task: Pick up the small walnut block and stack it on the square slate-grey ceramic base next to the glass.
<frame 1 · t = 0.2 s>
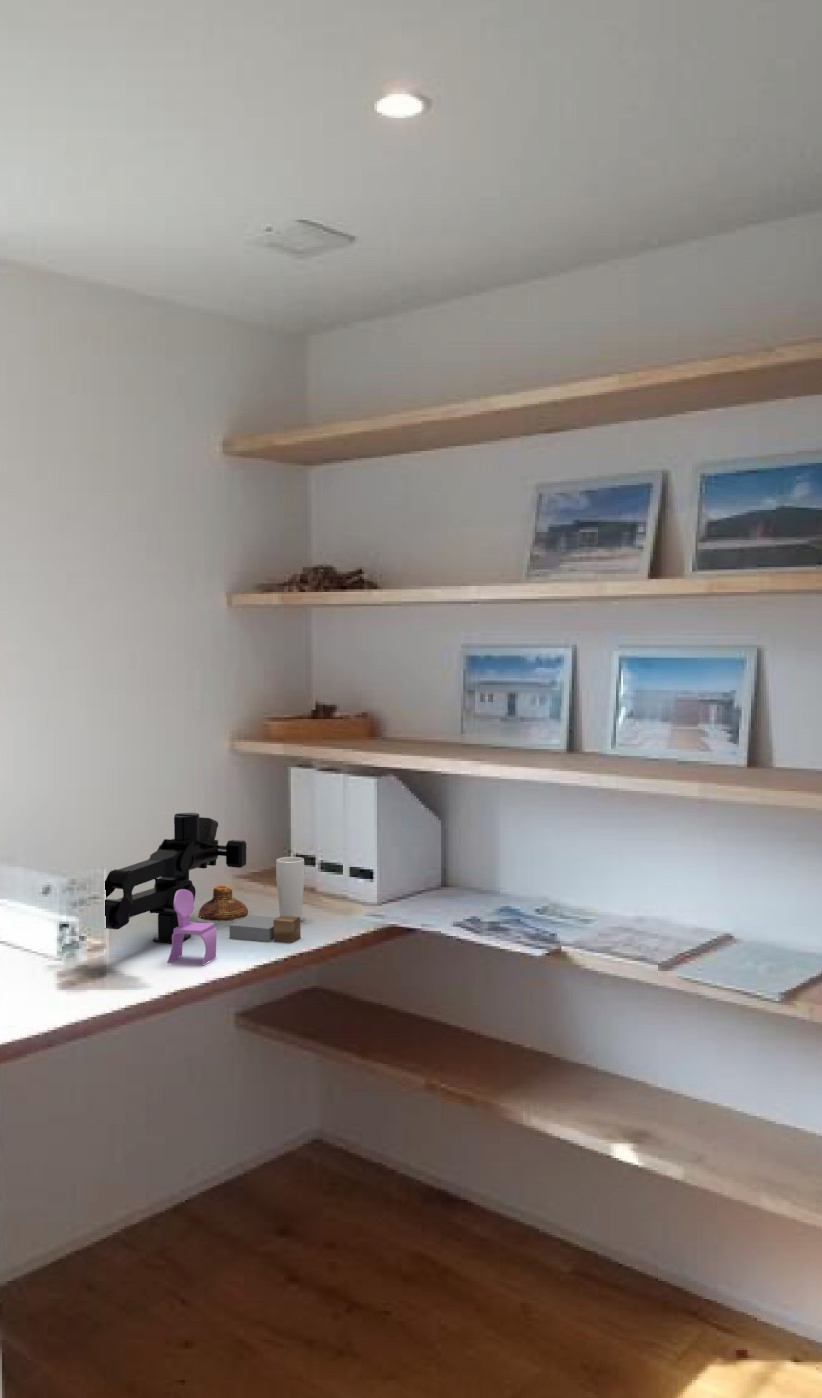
hand: (227, 846, 288), 17 cm above the table, tool horizontal, fingers open, 9 cm apart
toy chair: (192, 961, 249), on the table
bell: (223, 916, 288), on the table
drinking glass: (291, 922, 281), on the table
walnut block: (287, 940, 264), on the table
base: (259, 934, 269), on the table
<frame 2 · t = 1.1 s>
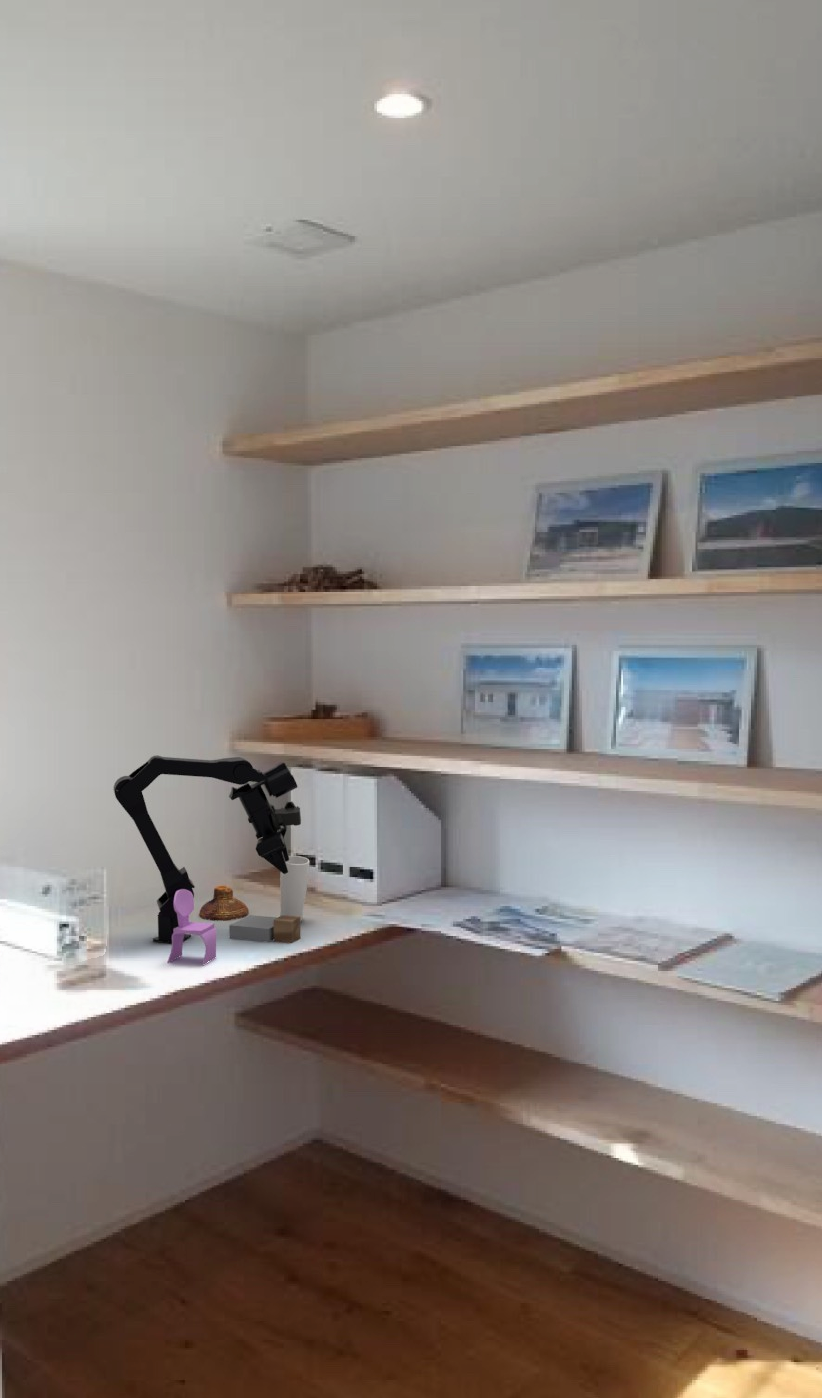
hand: (286, 866, 272), 15 cm above the table, tool tilted 25°, fingers open, 9 cm apart
drinking glass: (291, 920, 281), on the table, touching gripper
everything else where it was.
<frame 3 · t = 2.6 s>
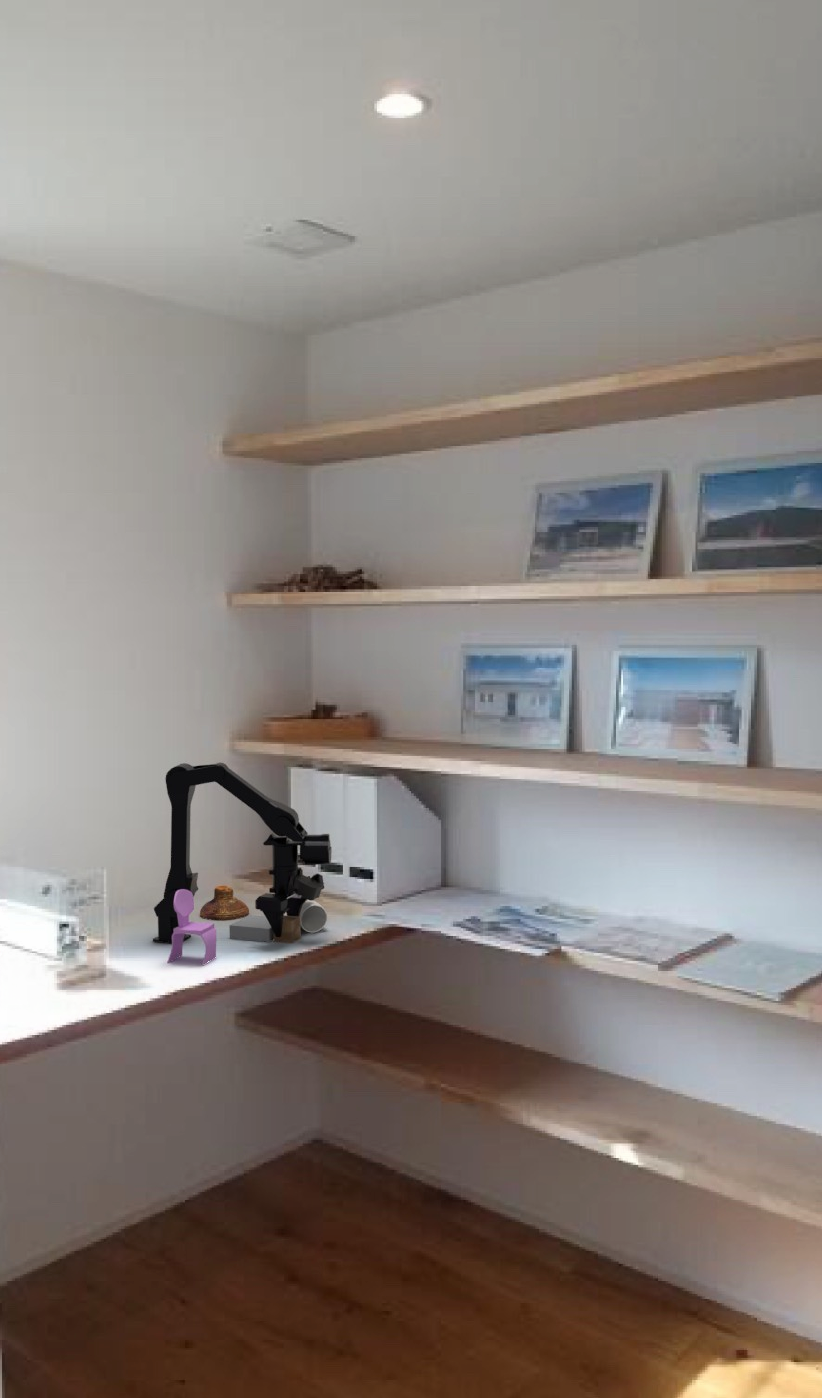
hand: (286, 932, 264), 2 cm above the table, tool pointing down, fingers open, 7 cm apart
drinking glass: (295, 902, 284), point 4 cm above the table, touching gripper
everything else where it was.
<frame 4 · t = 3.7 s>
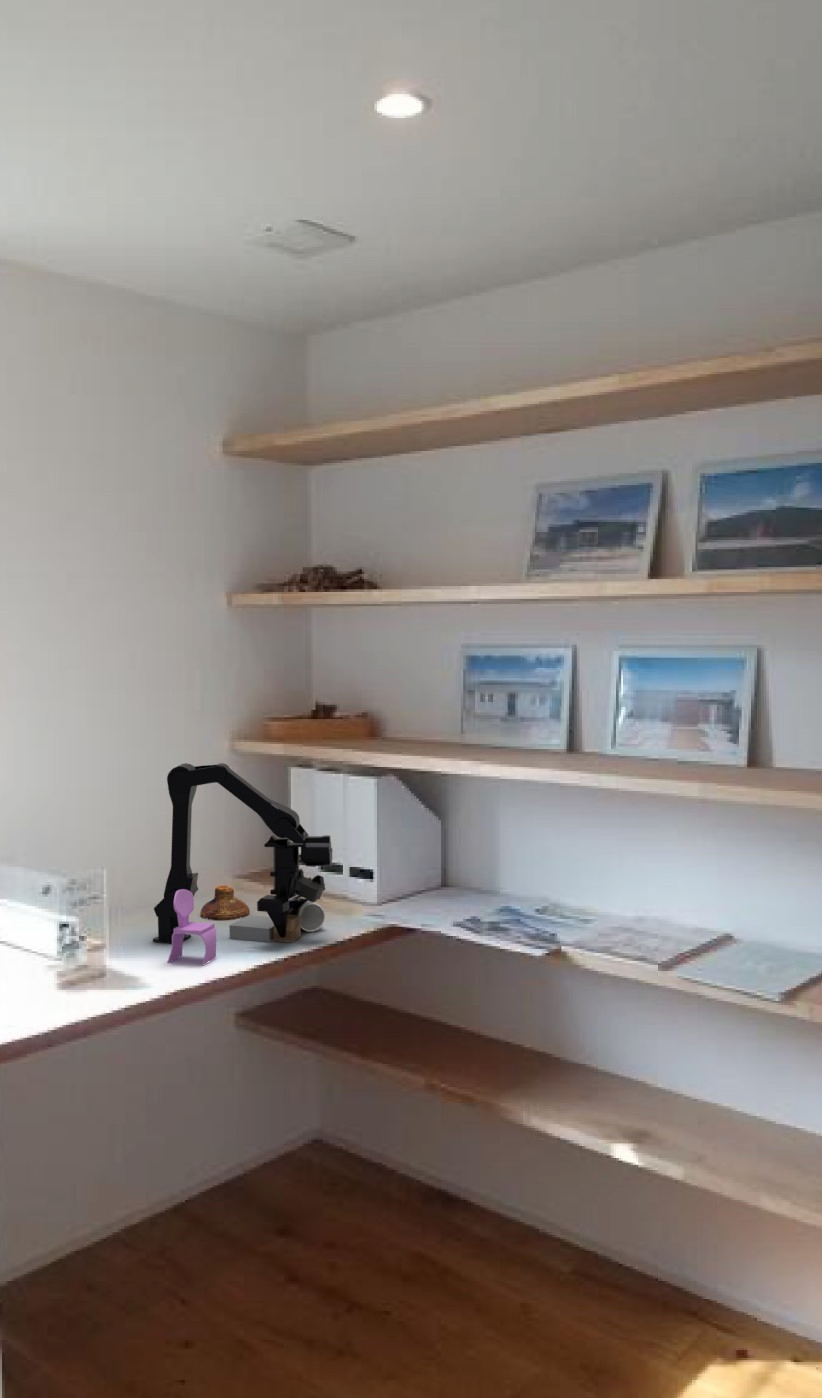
hand: (287, 934, 264), 1 cm above the table, tool pointing down, fingers closed on walnut block, 4 cm apart
drinking glass: (292, 906, 284), point 3 cm above the table
walnut block: (287, 939, 264), on the table, touching gripper
everything else where it was.
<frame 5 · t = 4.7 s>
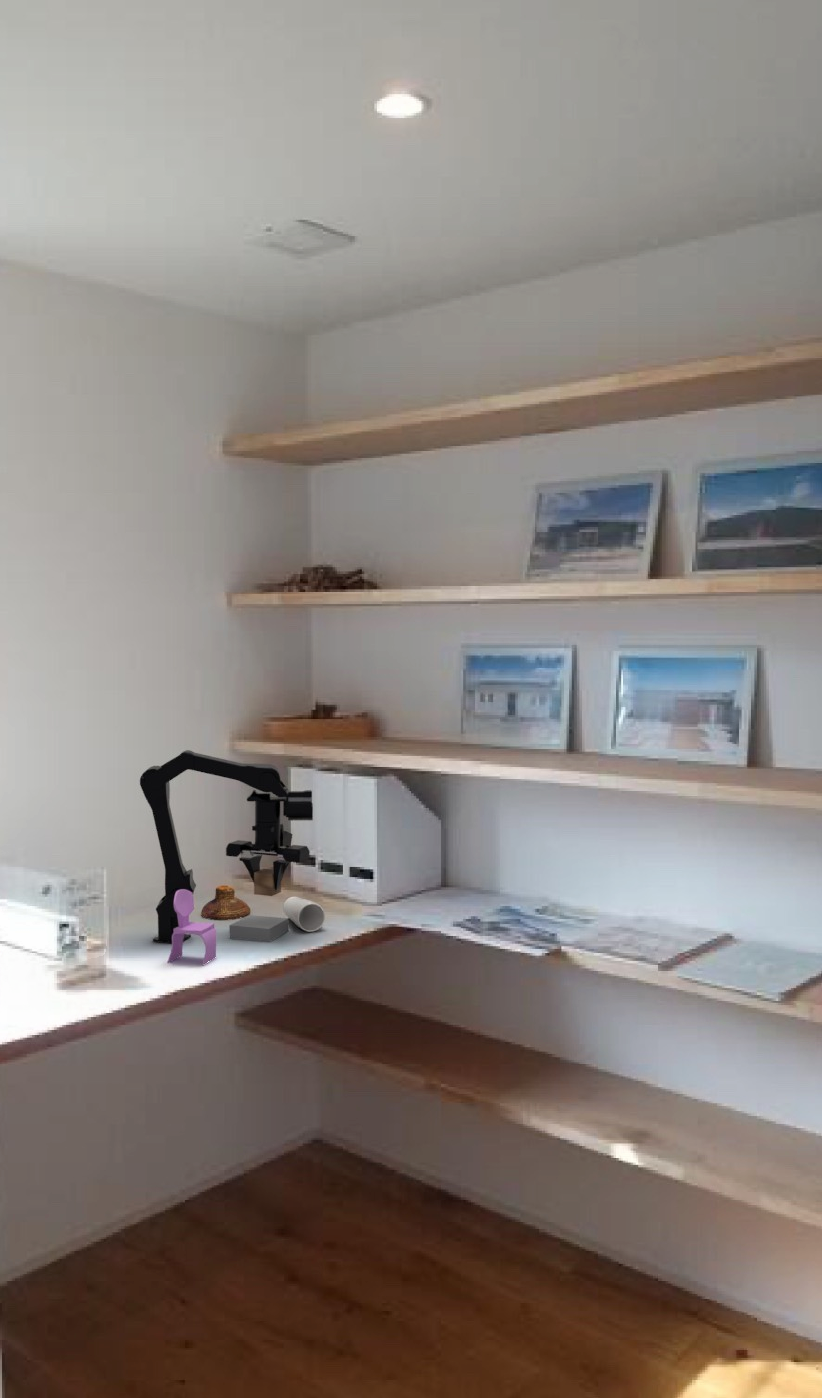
hand: (267, 888, 266), 11 cm above the table, tool pointing down, fingers closed on walnut block, 4 cm apart
walnut block: (267, 893, 266), point 10 cm above the table, touching gripper
everything else where it was.
when the fingers open (5 cm above the table, at t = 6.4 s): walnut block drops 1 cm, resting on base.
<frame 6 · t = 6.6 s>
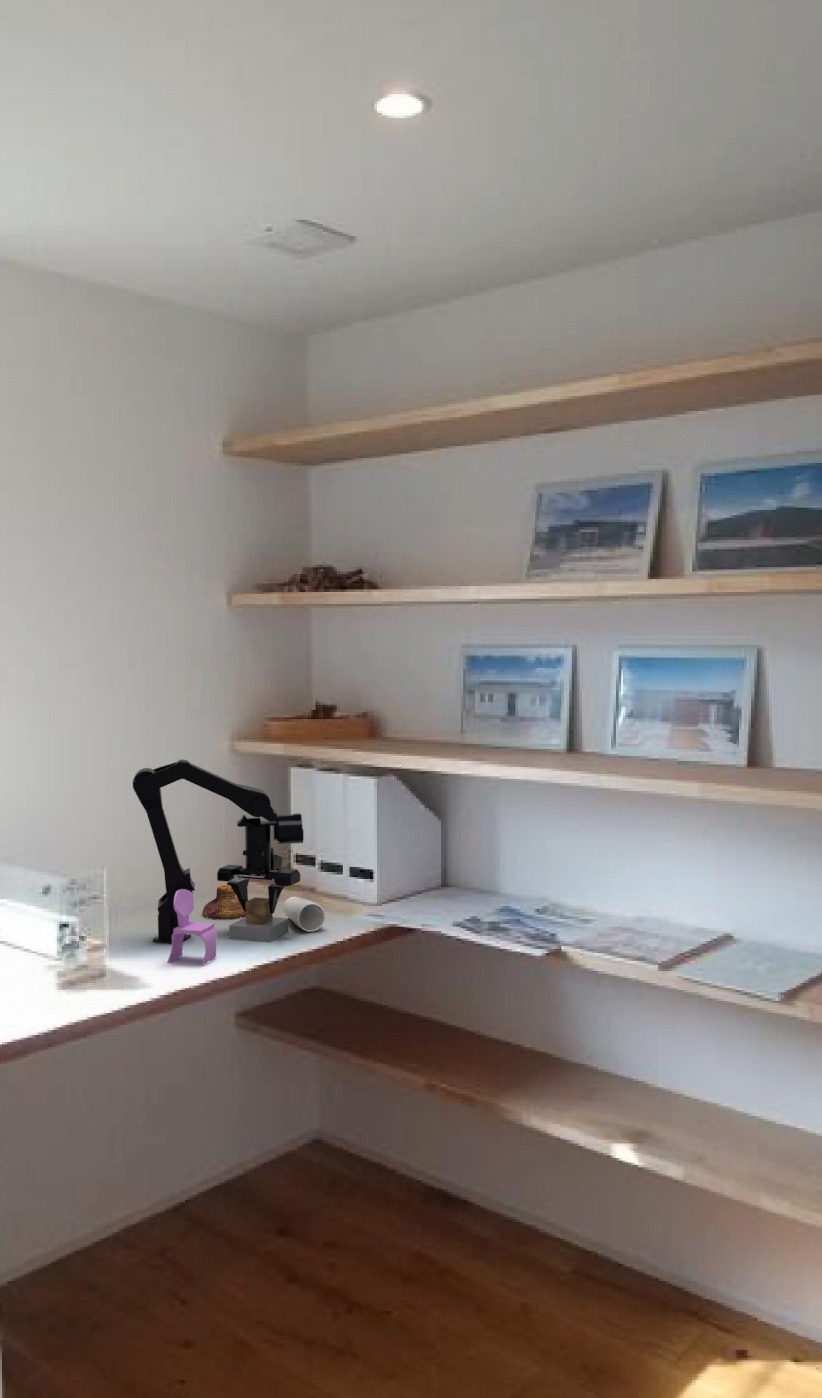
hand: (259, 912, 268), 5 cm above the table, tool pointing down, fingers open, 6 cm apart
walnut block: (259, 921, 269), point 3 cm above the table, touching base
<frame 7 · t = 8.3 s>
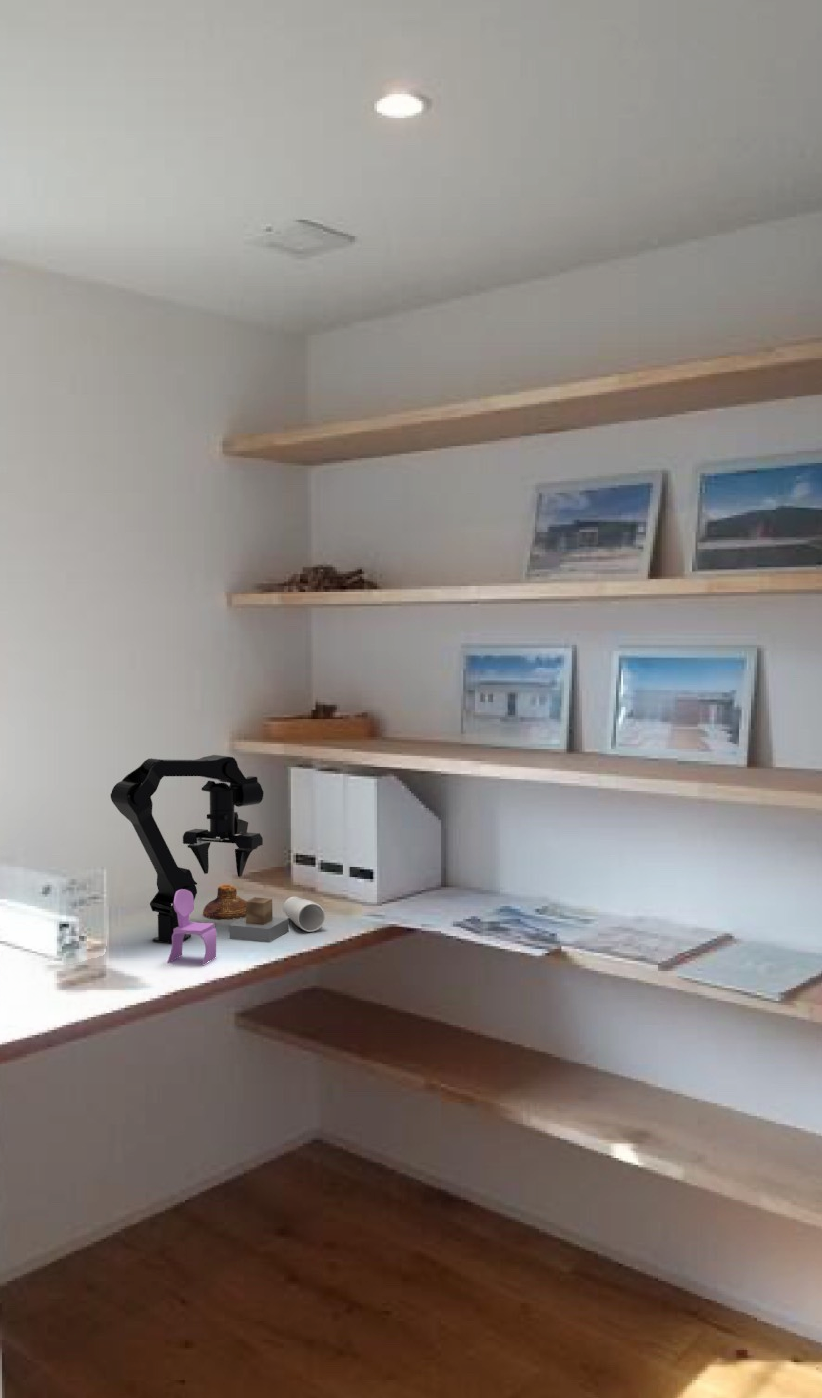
hand: (222, 874, 275), 12 cm above the table, tool pointing down, fingers open, 9 cm apart
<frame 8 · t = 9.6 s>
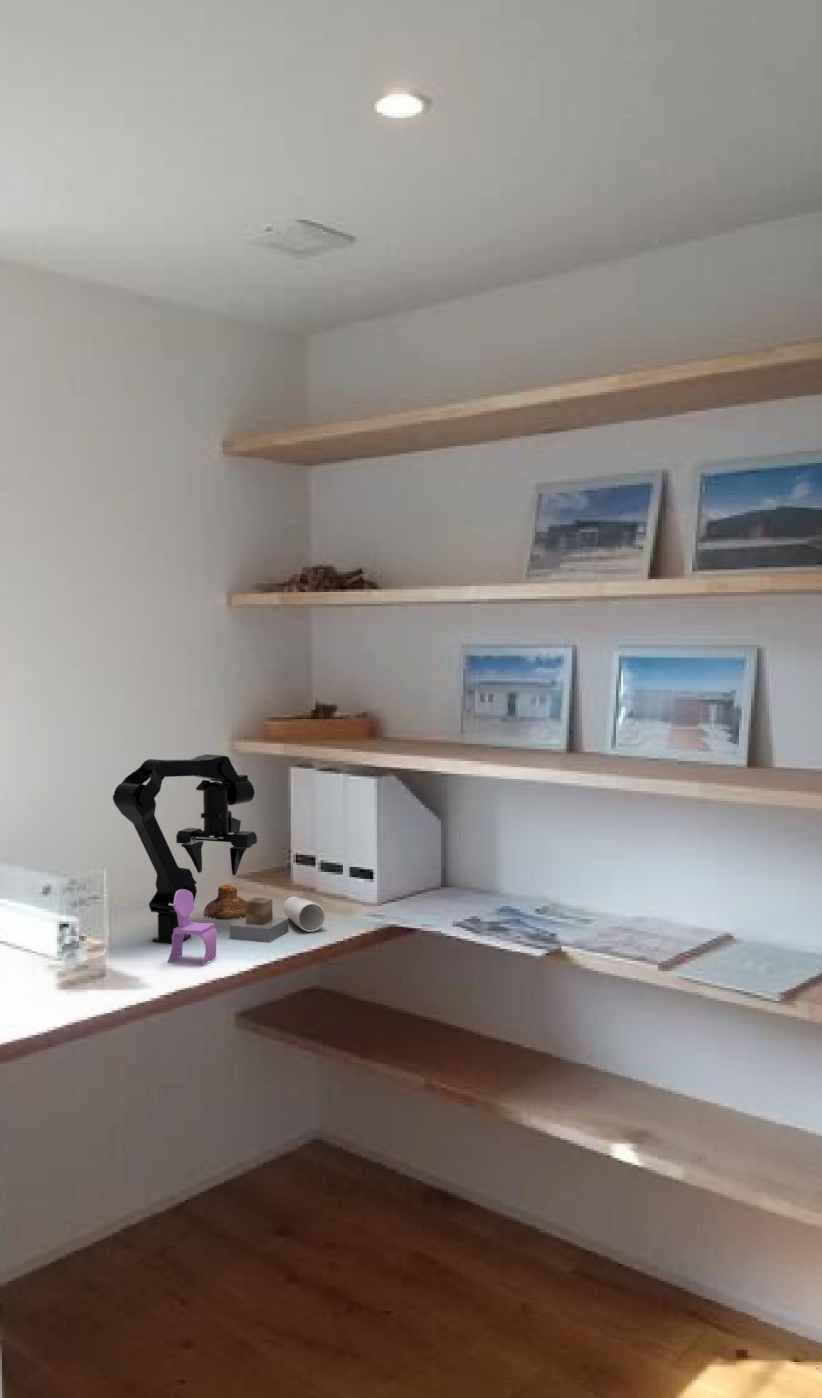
hand: (217, 873, 276), 13 cm above the table, tool pointing down, fingers open, 9 cm apart
at the end: walnut block 0.1 cm off-centre on the base, point 3.0 cm above the base's base; walnut block tilted 0°; the gripper is holding nothing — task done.
